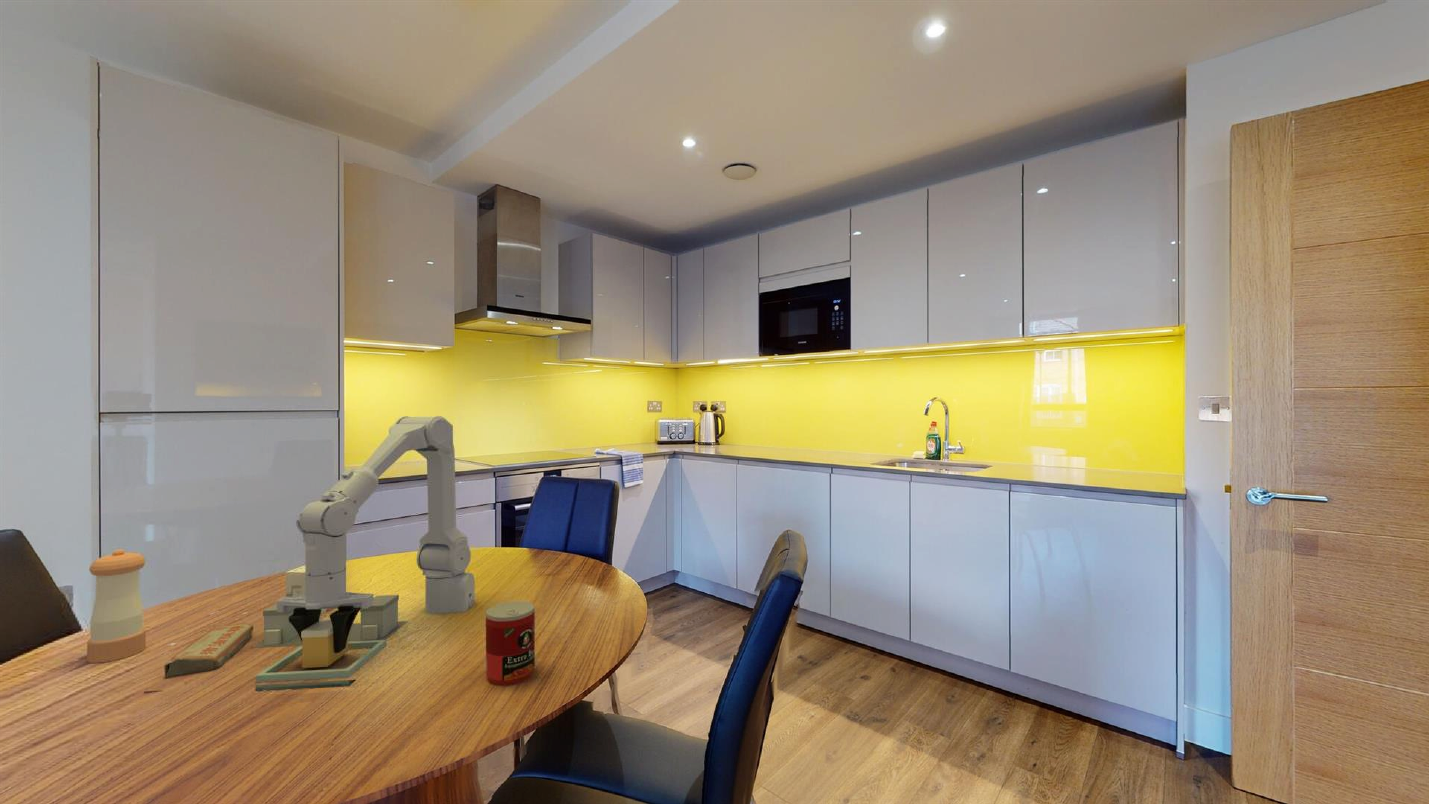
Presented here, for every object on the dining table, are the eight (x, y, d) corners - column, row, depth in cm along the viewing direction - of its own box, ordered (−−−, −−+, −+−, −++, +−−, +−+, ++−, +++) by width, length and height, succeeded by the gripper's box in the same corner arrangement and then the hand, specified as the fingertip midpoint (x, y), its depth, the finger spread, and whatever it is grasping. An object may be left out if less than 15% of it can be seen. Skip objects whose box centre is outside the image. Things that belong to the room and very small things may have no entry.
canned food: (506, 690, 86) (506, 620, 86) (475, 678, 90) (475, 611, 90) (545, 671, 92) (544, 605, 93) (514, 660, 97) (514, 597, 97)
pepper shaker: (132, 643, 105) (133, 544, 106) (154, 648, 103) (155, 546, 103) (77, 659, 98) (79, 553, 99) (100, 665, 96) (102, 556, 96)
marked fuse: (349, 650, 96) (349, 616, 97) (328, 666, 90) (328, 630, 90) (324, 652, 96) (324, 617, 96) (301, 668, 90) (301, 631, 90)
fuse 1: (308, 628, 108) (308, 598, 108) (287, 642, 102) (287, 609, 102) (285, 630, 107) (285, 599, 107) (262, 643, 101) (263, 610, 101)
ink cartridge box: (315, 613, 120) (316, 546, 121) (337, 613, 120) (338, 546, 121) (284, 628, 112) (284, 557, 112) (308, 628, 112) (308, 556, 112)
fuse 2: (398, 624, 109) (398, 594, 110) (383, 637, 103) (383, 605, 103) (376, 625, 109) (376, 595, 109) (359, 638, 103) (359, 606, 103)
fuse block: (407, 628, 111) (407, 608, 111) (383, 649, 101) (383, 627, 102) (287, 634, 109) (287, 613, 109) (249, 656, 99) (250, 634, 99)
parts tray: (386, 653, 100) (386, 639, 100) (349, 686, 88) (349, 670, 88) (304, 657, 98) (304, 643, 98) (255, 691, 86) (255, 675, 86)
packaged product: (201, 625, 103) (266, 617, 106) (200, 651, 103) (265, 642, 106) (141, 666, 86) (221, 656, 89) (141, 697, 86) (220, 685, 89)
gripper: (263, 580, 89) (262, 664, 88) (358, 576, 90) (357, 659, 90) (292, 568, 96) (292, 645, 95) (379, 564, 97) (379, 641, 97)
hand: (325, 651), depth 93 cm, fingers closed on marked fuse, 4 cm apart
